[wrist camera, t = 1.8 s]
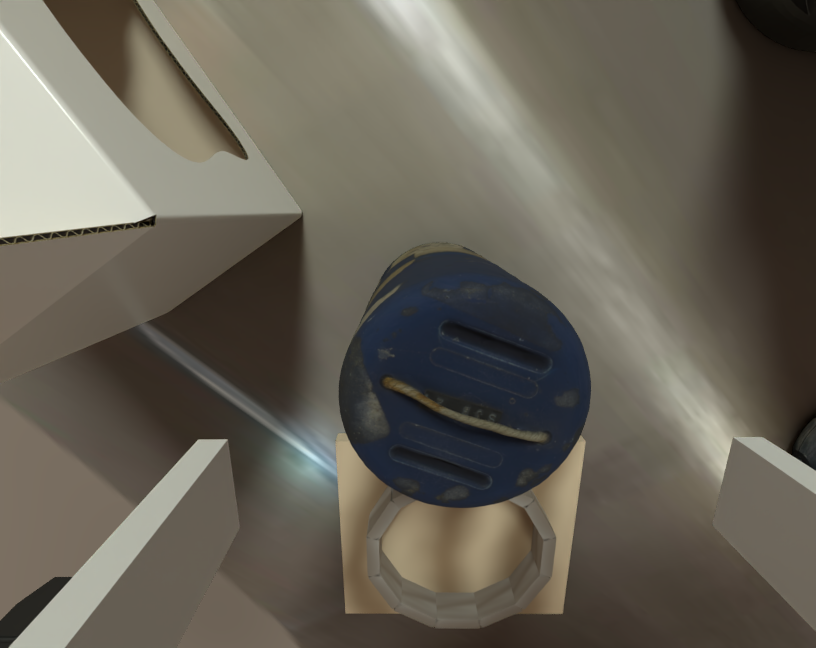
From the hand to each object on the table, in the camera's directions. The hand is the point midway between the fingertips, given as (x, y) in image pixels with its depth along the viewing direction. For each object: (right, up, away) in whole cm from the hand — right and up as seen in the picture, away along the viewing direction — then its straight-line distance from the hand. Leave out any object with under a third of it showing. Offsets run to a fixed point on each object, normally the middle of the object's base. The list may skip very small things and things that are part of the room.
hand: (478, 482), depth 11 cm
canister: (0, +6, +20) cm, 21 cm away
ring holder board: (+2, -14, +25) cm, 29 cm away
